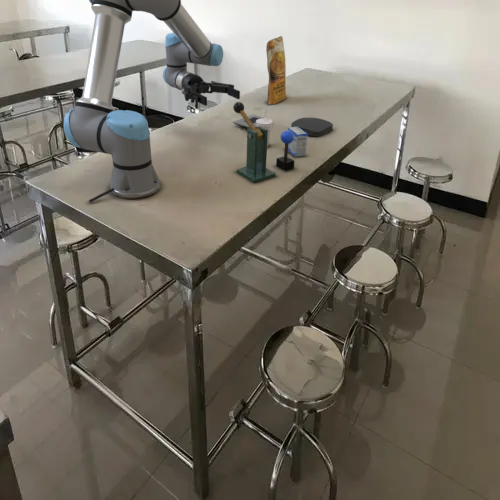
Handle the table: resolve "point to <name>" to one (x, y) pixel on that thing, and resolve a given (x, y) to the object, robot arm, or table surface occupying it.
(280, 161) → the blue knob joystick
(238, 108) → the switch lever
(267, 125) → the smoothie
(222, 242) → the table surface
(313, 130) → the media streaming box
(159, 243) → the table surface
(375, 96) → the table surface
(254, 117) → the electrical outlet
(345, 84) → the table surface
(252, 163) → the switch bracket
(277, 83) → the pancake mix bag
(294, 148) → the medicine box
